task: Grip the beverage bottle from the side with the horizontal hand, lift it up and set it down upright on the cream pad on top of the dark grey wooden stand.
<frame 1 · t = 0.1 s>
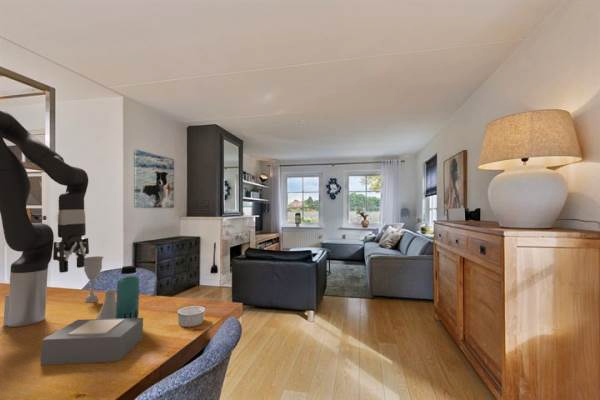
hand: (72, 269, 97), 17 cm above the table, tool pointing down, fingers open, 8 cm apart
ramekin: (191, 323, 96), on the table
flask: (108, 320, 97), on the table
beverage bottle: (126, 329, 89), on the table
chalice: (91, 301, 118), on the table
stand: (96, 350, 75), on the table
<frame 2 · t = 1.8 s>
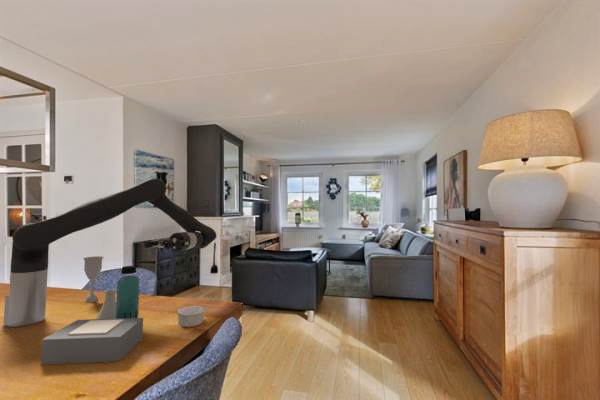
hand: (154, 245, 101), 26 cm above the table, tool horizontal, fingers open, 8 cm apart
nothing on the table moved.
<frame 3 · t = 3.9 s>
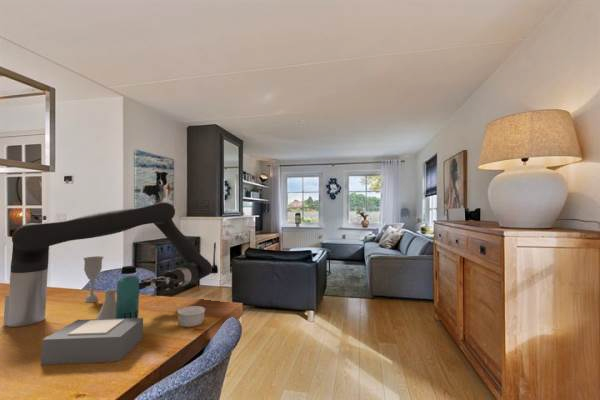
hand: (147, 288, 98), 11 cm above the table, tool horizontal, fingers open, 8 cm apart
nothing on the table moved.
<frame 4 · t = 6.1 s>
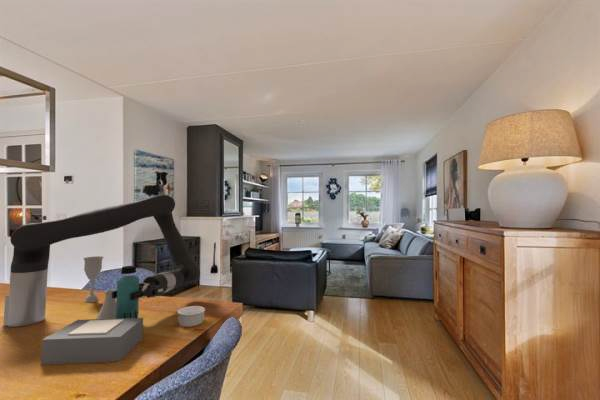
hand: (121, 296, 88), 11 cm above the table, tool horizontal, fingers closed on beverage bottle, 6 cm apart
beverage bottle: (126, 329, 89), on the table, touching gripper
everything else where it was.
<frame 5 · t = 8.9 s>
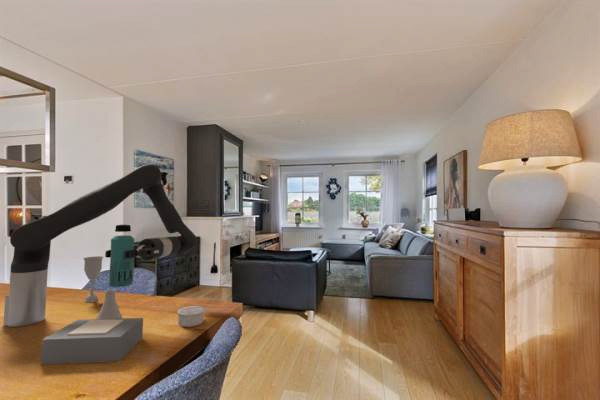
hand: (115, 254, 84), 25 cm above the table, tool horizontal, fingers closed on beverage bottle, 6 cm apart
beverage bottle: (120, 290, 86), point 13 cm above the table, touching gripper
everything else where it was.
when the fingers open (18 cm above the table, at t = 11.7 s): beverage bottle stays where it is, resting on stand.
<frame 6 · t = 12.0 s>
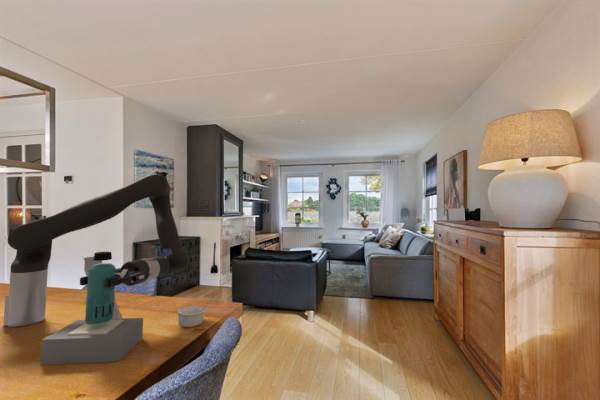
hand: (93, 282, 75), 18 cm above the table, tool horizontal, fingers open, 8 cm apart
beverage bottle: (98, 326, 76), point 6 cm above the table, touching stand
everything else where it was.
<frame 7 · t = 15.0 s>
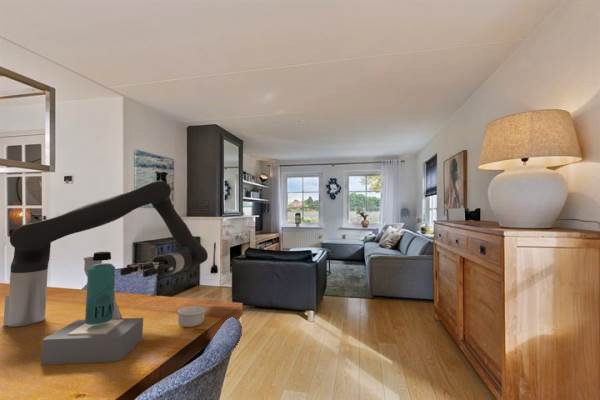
hand: (132, 272, 87), 19 cm above the table, tool horizontal, fingers open, 8 cm apart
nothing on the table moved.
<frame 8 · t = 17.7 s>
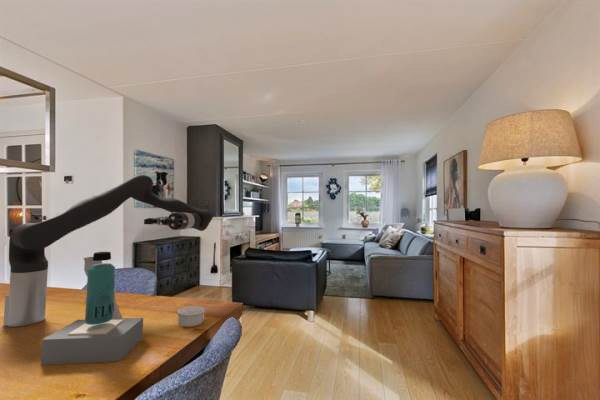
hand: (154, 221, 106), 34 cm above the table, tool horizontal, fingers open, 8 cm apart
nothing on the table moved.
at the end: beverage bottle inside the target area (0.3 cm from its centre), point 6.2 cm above the table; beverage bottle tilted 0°; the gripper is holding nothing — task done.
